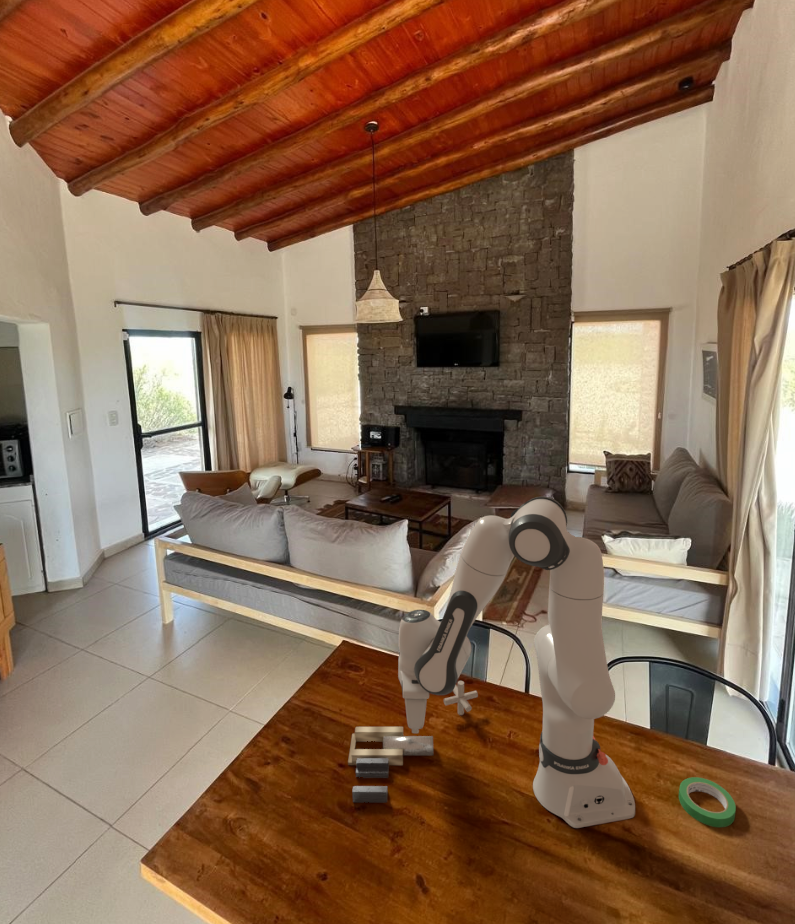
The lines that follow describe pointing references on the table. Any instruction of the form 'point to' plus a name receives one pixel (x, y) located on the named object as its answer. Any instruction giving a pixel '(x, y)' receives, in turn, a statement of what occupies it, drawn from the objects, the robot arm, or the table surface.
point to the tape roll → (702, 814)
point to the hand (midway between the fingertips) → (415, 718)
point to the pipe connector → (461, 698)
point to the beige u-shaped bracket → (375, 735)
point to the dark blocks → (371, 770)
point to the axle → (410, 744)
